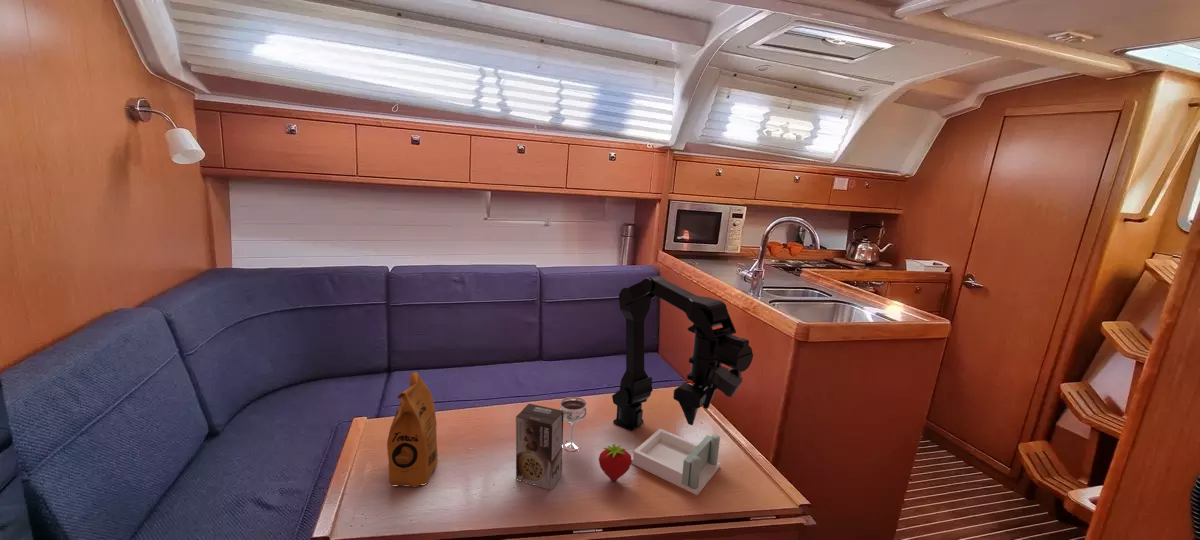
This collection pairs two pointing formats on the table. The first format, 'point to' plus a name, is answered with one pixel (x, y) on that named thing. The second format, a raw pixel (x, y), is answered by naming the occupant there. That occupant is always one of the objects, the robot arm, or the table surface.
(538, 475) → the coffee box
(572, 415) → the wineglass
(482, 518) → the table surface
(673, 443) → the cradle stand
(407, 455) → the coffee package
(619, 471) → the strawberry
